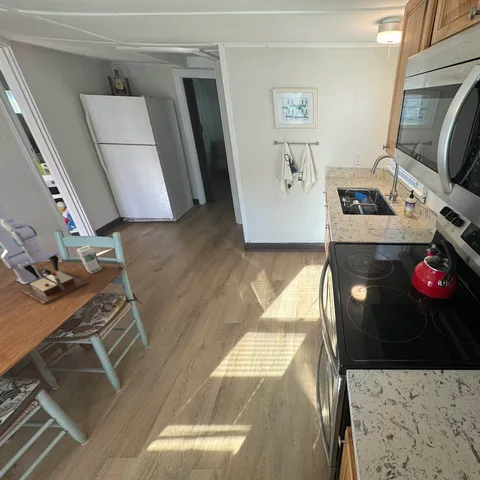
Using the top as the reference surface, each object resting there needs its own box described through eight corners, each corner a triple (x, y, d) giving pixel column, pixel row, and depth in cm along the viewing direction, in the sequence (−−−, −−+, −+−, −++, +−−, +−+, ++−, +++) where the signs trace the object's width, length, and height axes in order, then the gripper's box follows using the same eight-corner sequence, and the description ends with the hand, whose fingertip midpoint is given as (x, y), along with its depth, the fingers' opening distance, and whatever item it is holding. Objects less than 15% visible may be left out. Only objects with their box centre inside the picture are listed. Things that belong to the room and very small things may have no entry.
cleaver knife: (41, 277, 138) (35, 267, 135) (46, 275, 139) (40, 265, 136) (56, 284, 132) (50, 274, 129) (60, 282, 133) (55, 272, 130)
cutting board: (21, 290, 135) (12, 277, 131) (64, 272, 150) (57, 259, 146) (44, 304, 126) (35, 290, 122) (87, 283, 140) (81, 270, 136)
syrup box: (91, 274, 148) (80, 251, 141) (86, 271, 151) (75, 248, 144) (103, 269, 152) (93, 247, 146) (98, 266, 155) (88, 244, 149)
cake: (32, 288, 135) (28, 280, 133) (61, 276, 145) (57, 268, 143) (46, 296, 130) (41, 288, 128) (75, 282, 139) (71, 275, 137)
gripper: (17, 259, 120) (32, 283, 126) (56, 245, 132) (68, 268, 138) (10, 256, 123) (25, 280, 129) (49, 242, 135) (61, 265, 141)
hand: (47, 273), depth 134 cm, fingers open, 7 cm apart
